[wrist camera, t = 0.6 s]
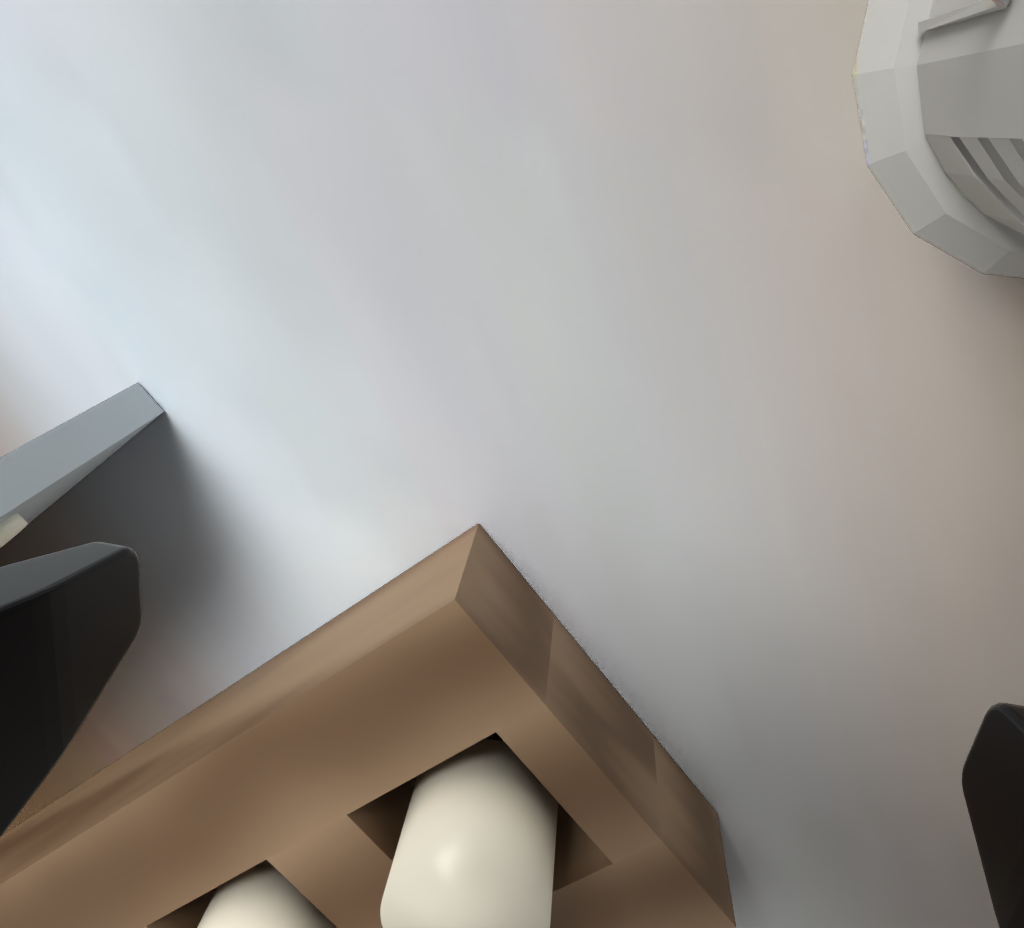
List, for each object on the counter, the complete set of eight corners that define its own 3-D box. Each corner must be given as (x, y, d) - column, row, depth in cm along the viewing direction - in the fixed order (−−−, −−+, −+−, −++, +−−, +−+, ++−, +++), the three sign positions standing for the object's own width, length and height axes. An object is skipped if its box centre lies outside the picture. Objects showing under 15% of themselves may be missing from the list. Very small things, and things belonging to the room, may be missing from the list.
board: (716, 812, 26) (736, 927, 22) (191, 1059, 33) (139, 1177, 29) (478, 523, 23) (454, 599, 19) (-41, 863, 30) (-131, 966, 26)
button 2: (587, 815, 23) (583, 946, 19) (474, 870, 24) (451, 1003, 21) (499, 715, 22) (478, 833, 18) (386, 778, 23) (345, 901, 20)
